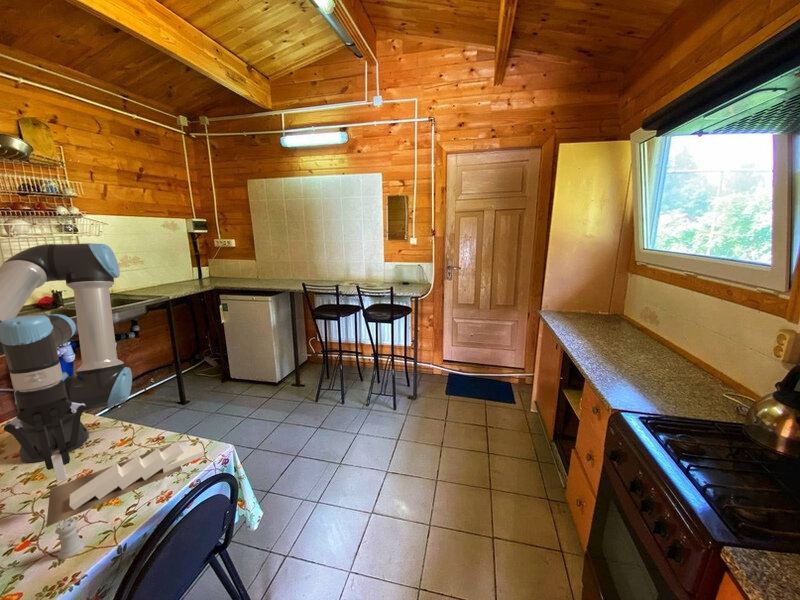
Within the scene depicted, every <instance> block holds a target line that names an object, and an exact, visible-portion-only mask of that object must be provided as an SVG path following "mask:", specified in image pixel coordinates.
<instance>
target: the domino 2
mask: <svg viewBox="0 0 800 600" xmlns="http://www.w3.org/2000/svg"><path fill="white" fill-rule="evenodd" d="M139 456H140V455H137V456H135V457H133V458H134V459H132V458H131V459H132V460H131V461H129V462H128V463H126V464H125V465H123V466H122V467H121V472H122V477H121V478H120V479H119V480H117V481H116V482H114V483H113V484H111V485H110V486H108V487H107V488H106V489H104V490H103V491H101V492H100V493H98V494H97V495H95V496H96V497H97V498H98V499H99V500H100V499H101V498H102V497H104V496H105V495H107V494H108V493H110V492H111V491H112V490H114V489H115V488H117V487H118V486H120V485H121V484H122V483H124V482H125V481H127V480H128V479H130V478H131V477H132V476H134V475H135V474H137V473H138V472H140V471H141V470H142V469H144V465H143V462H142V459H141V458H140V457H139Z"/></svg>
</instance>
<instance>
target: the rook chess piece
mask: <svg viewBox="0 0 800 600" xmlns="http://www.w3.org/2000/svg"><path fill="white" fill-rule="evenodd" d="M77 525H78V520H77V519H75V518H74V517H69V518H67V519H64V520H63V522H62V521H60V522H58V525H56V529H55V530H54V531H55V532H54V533H55V534H57V535H58V539H59V540H60V548H59V551H58V553H57V558H58V559H59V560H66V559H69V558H72V557H74V556H76V555H77V554H78V553H80V552H81V551H82V550H83V549H84V548H85V546H86V545H87V541H86V540H85V539H83V538H82V537H80V536H79V533H78V527H77Z"/></svg>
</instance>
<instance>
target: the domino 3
mask: <svg viewBox="0 0 800 600" xmlns="http://www.w3.org/2000/svg"><path fill="white" fill-rule="evenodd" d="M152 451H153V452H152V453H150V454H149V455H147V456H146V457H144V458H143V459H142V462H143V465H144V469H142V470H141V471H140V472H138V473H137V474H135V475H134V476H132V477H131V478H130V479H128V480H127V481H125V482H124V483H122V484H121V485H120V486H119V487H120V488H121V489H122V490H123V489H125V488H126V487H128V486H129V485H130V484H132V483H133V482H135V481H136V480H137V479H139V478H140V477H142V476H143V475H145V474H146V473H147V472H149V471H150V470H152V469H153V468H154V467H156V466H157V465H159V464H160V463H162V462H163V461H164V458H163V455H162V453H161V451H160V450H159V448H156V449H155V451H154V450H152Z"/></svg>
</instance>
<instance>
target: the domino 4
mask: <svg viewBox="0 0 800 600" xmlns="http://www.w3.org/2000/svg"><path fill="white" fill-rule="evenodd" d="M183 450H184V449H183V447H182V446H181V444H180V442H179V441H178V440H177V441H175V442H174V443H172V444H171V446H169V447H168V448H166V449H165V450H164V451H162V452H161V453H162V455H163V458H164V461H163V462H162V463H160V464H159V465H157V466H156V467H154V468H153V469H152V470H150V471H149V472H147V473H146V474H145V475H143V476H142V478H143V479H144V480H146V479H148V478H149V477H151V476H152V475H153V474H155V473H156V472H158V471H159V470H160V469H162V468H163V467H165V466H166V465H167V464H169V463H170V462H172V461H173V460H174V459H176V458H177V457H179V456H180V455H181V454H183V453H184V451H183Z"/></svg>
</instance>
